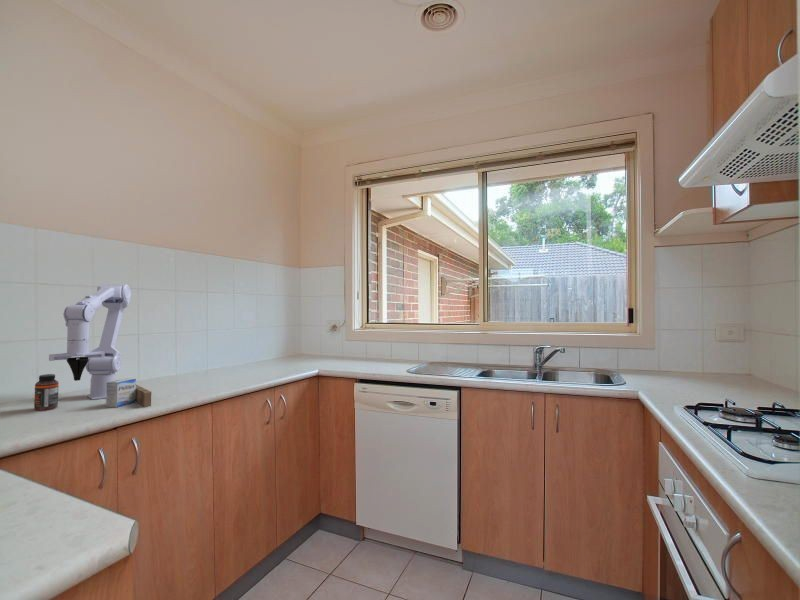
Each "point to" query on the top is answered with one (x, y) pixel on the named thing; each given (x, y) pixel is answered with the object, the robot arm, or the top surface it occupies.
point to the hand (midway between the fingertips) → (77, 380)
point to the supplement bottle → (46, 393)
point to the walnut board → (143, 396)
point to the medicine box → (121, 392)
